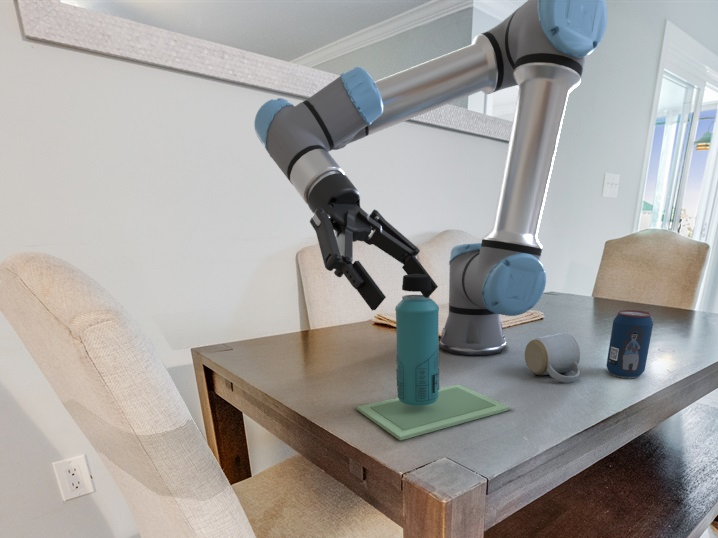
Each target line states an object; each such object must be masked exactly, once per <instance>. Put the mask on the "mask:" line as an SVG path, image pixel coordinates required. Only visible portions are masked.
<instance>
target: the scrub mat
mask: <svg viewBox="0 0 718 538" xmlns="http://www.w3.org/2000/svg"><path fill="white" fill-rule="evenodd" d="M356 409H357V410H356V411H358V412H359V413H361V414H362V415H364V416H365V417H366V418H368V419H369V420H371V421H372V422H374V423H375V424H376V425H378V426H379V427H380V428H382V429H383V430H384V431H386V433H389V434H390V435H391V436H392V437H394V438H395V439H397V440H398V441H401V442H402V441H404V440H407V439H411V438H414V437H419V436H422V435H426V434H428V433H433V432H436V431H440V430H443V429H446V428H451V427H454V426H457V425H462V424H465V423H468V422H472V421H476V420H479V419H482V418H486V417H489V416H493V415H497V414H501V413H503V412H508V411H510V406H509V405H506V404H504V403H502V402H500V401H497V400H495V399H493V398H491V397H489V396H486V395H484V394H482V393H480V392H477V391H475V390H473V389H471V388H469V387H466V386H464V385H462V384H460V383H458V384H453V385H449V386H444V387H439V390H438V399H437V401H436V402H434V403H432V404H429V405H422V406H414V405H408V404H404V403H402V402H401V401H400V400H399V398H398V397H396V398H391V399H385V400H380V401H376V402H372V403H368V404H363V405H359V406H357V407H356Z"/></svg>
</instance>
